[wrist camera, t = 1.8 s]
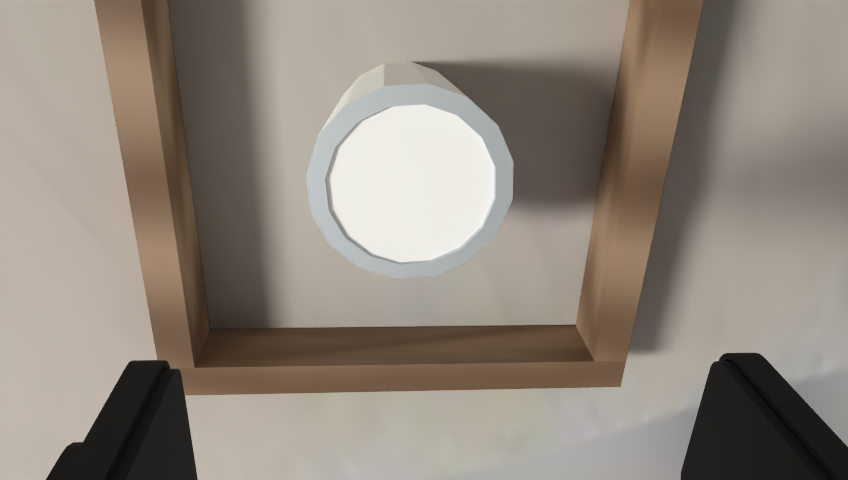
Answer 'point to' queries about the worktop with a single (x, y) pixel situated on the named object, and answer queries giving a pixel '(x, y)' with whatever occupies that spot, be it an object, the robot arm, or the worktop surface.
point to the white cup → (409, 174)
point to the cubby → (394, 346)
